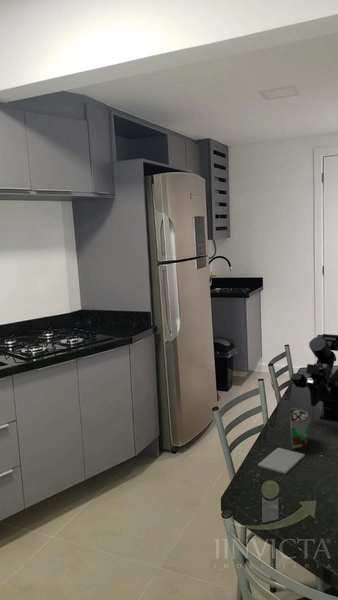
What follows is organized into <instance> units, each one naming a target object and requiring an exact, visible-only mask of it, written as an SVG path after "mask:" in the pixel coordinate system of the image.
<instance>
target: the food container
mask: <svg viewBox="0 0 338 600" xmlns="http://www.w3.org/2000/svg"><path fill="white" fill-rule="evenodd" d="M289 421H290V423H289V424H290V425H289V426H290V439H291V449H292V451H298V450H303V449H305V448H307V447H308V443H309V441H308V439H309V424H311V417H310V415H309V412H307V411H306V410H303V409H301V408H295V407H289Z"/></svg>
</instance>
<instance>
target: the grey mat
mask: <svg viewBox="0 0 338 600" xmlns="http://www.w3.org/2000/svg"><path fill="white" fill-rule="evenodd" d="M304 458H305V454H304V453H300V452H297V451H294V450H289V449H285V448H282V447H277V448H276V449H275V450H273V451H272V452H271V453H270V454H268V455H267V456H266V457H264V458H263V459H262V460H261V461H260V462H259V463H257V467H258V468H259V467H260V468H262V469H266V470H269V471H273V472H275V473H280V474H284V475H286V474H287V473H288V472H290V471H291V470H292V469H293V468H294V467H295V466H296V465H297V464H298V463H299V462H300V461H301V460H303V459H304Z"/></svg>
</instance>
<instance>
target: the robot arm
mask: <svg viewBox="0 0 338 600" xmlns="http://www.w3.org/2000/svg"><path fill="white" fill-rule="evenodd" d="M308 347H309V348H310V351H311V352H312V353H313V355H314V357H315V358H316V359H317V360H316V362H315V363H313V364H312V363H311V364H310V363H308V364H307V365H306V371H305V373H306V374H308V376H309V378H308V377H307V378H306V376H305V375H304V374H302V373H296V372H295V373H293V374H292V375H291V377H290V381H291V382H292V383H293V384H294V386H295V387H297V388H302V389H305V388H306V387H307V388H308V390H309V395H310V406H311V407H315V406H317V404H318V403H320V402H322V414H321V415H320V416H319V419H323V420H327V421H333V422H338V368H337V369H336V370H335V371H334V372H333V368H334V366H335V365H334V364H335V362H336V361H337V356H336V353H335V352H338V334H327V333H323V334H317V336H316V337H313V338H312V339H311V340H310V341H309V344H308ZM334 351H335V352H334Z"/></svg>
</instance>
